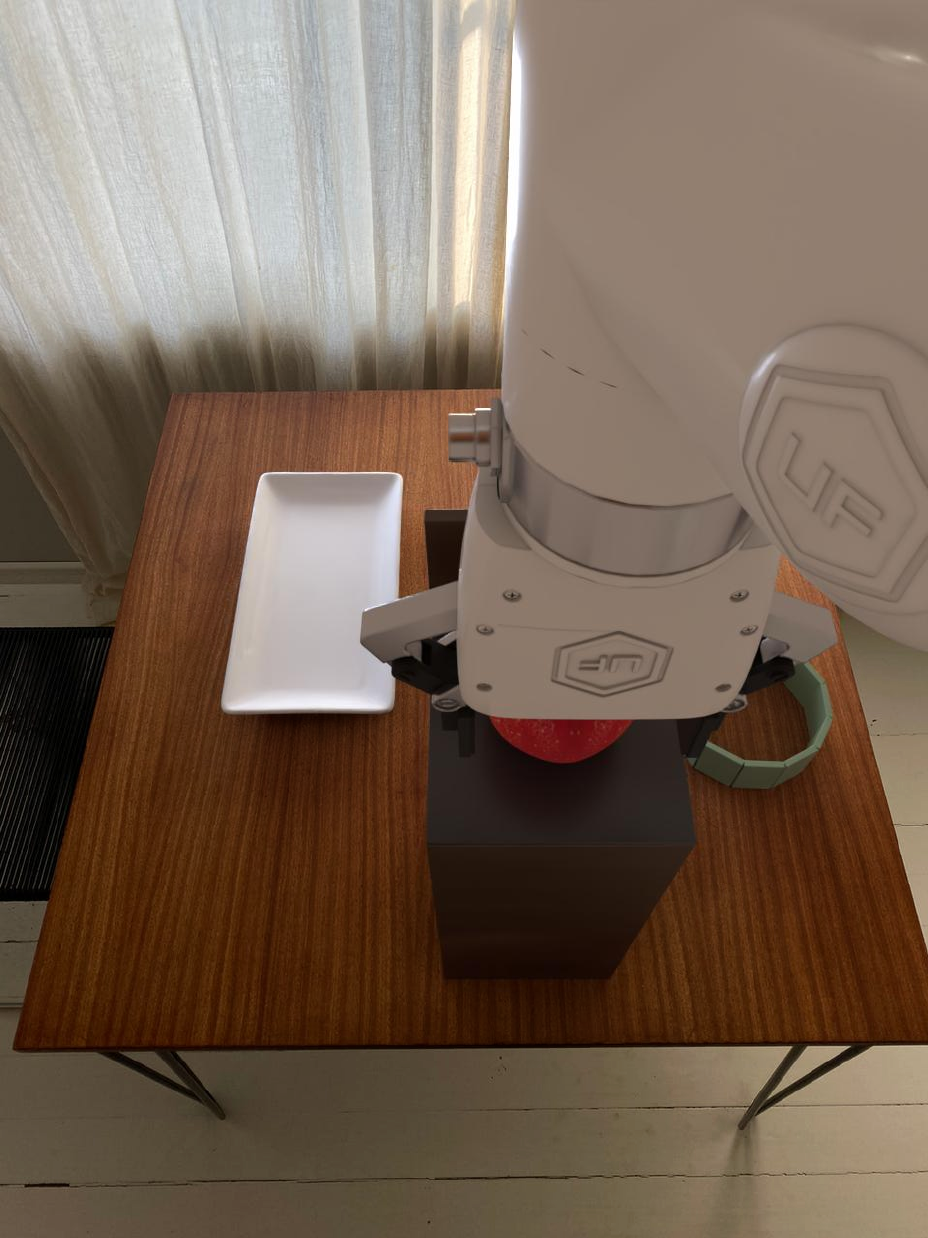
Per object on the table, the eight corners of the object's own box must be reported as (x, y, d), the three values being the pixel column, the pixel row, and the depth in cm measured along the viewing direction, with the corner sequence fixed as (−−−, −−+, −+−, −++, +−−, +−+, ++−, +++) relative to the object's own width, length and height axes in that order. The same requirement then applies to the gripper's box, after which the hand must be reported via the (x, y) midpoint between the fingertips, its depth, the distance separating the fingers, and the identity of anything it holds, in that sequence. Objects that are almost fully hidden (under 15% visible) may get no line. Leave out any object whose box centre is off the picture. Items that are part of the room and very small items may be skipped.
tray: (406, 489, 104) (404, 468, 101) (396, 727, 86) (393, 711, 83) (264, 490, 104) (258, 470, 101) (226, 729, 86) (217, 713, 84)
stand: (610, 979, 73) (748, 761, 37) (443, 979, 73) (415, 762, 37) (596, 819, 81) (699, 507, 44) (446, 819, 81) (424, 508, 44)
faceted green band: (844, 749, 85) (863, 726, 81) (725, 813, 81) (739, 793, 77) (753, 639, 92) (767, 613, 88) (640, 694, 88) (648, 669, 84)
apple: (487, 796, 46) (490, 708, 38) (474, 659, 51) (474, 554, 43) (640, 784, 47) (677, 695, 38) (613, 650, 51) (641, 543, 43)
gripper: (311, 556, 22) (375, 807, 37) (989, 556, 22) (788, 809, 36) (337, 361, 27) (385, 654, 41) (908, 359, 26) (756, 655, 41)
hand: (575, 727), depth 39 cm, fingers open, 9 cm apart
